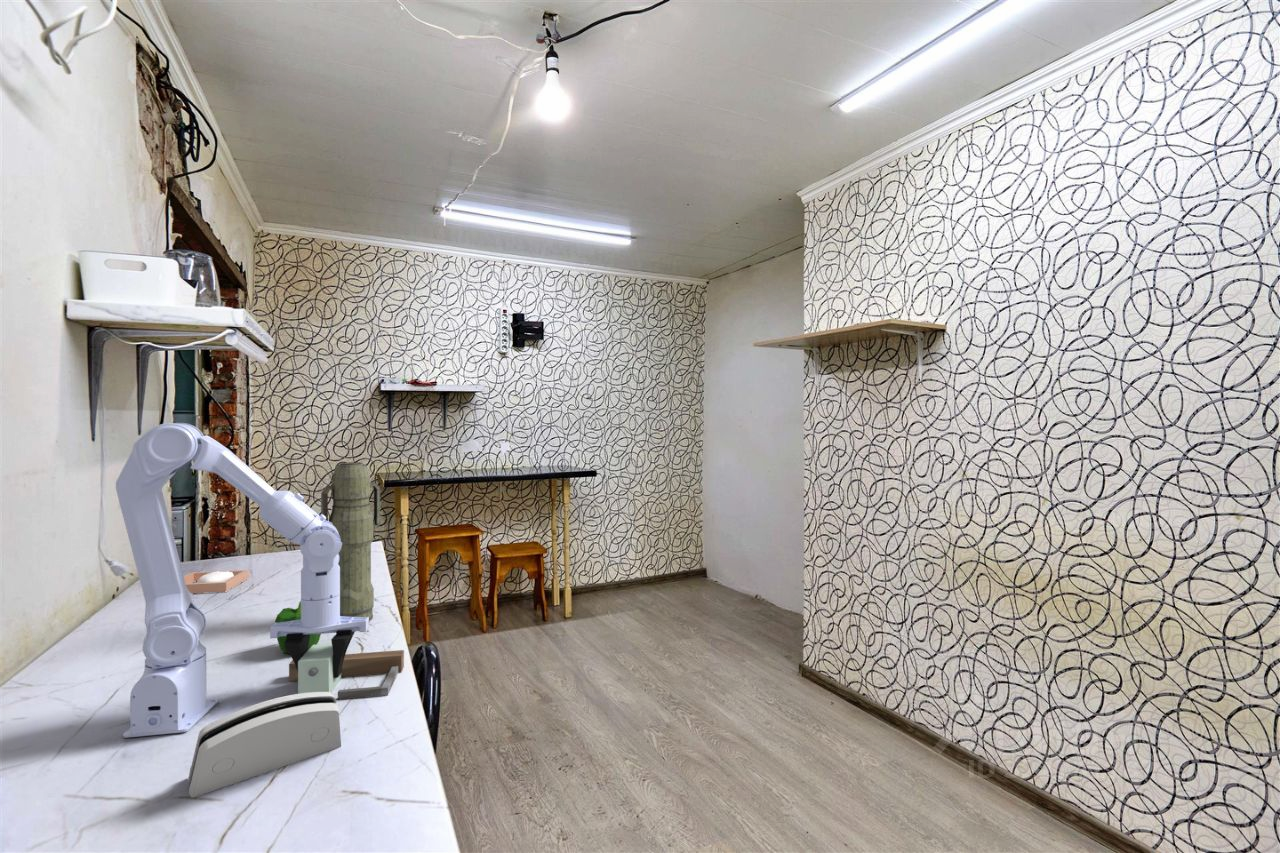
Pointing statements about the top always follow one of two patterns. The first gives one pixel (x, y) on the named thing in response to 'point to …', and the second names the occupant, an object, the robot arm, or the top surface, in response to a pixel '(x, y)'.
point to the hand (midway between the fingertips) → (320, 676)
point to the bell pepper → (293, 615)
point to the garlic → (215, 577)
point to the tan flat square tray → (214, 586)
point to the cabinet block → (317, 670)
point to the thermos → (353, 534)
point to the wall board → (366, 671)
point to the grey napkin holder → (264, 739)
